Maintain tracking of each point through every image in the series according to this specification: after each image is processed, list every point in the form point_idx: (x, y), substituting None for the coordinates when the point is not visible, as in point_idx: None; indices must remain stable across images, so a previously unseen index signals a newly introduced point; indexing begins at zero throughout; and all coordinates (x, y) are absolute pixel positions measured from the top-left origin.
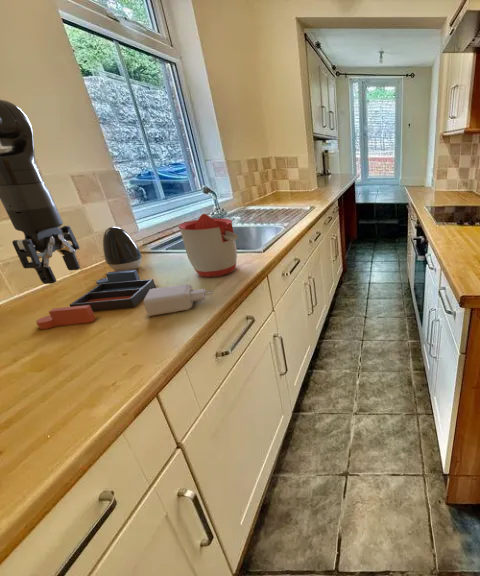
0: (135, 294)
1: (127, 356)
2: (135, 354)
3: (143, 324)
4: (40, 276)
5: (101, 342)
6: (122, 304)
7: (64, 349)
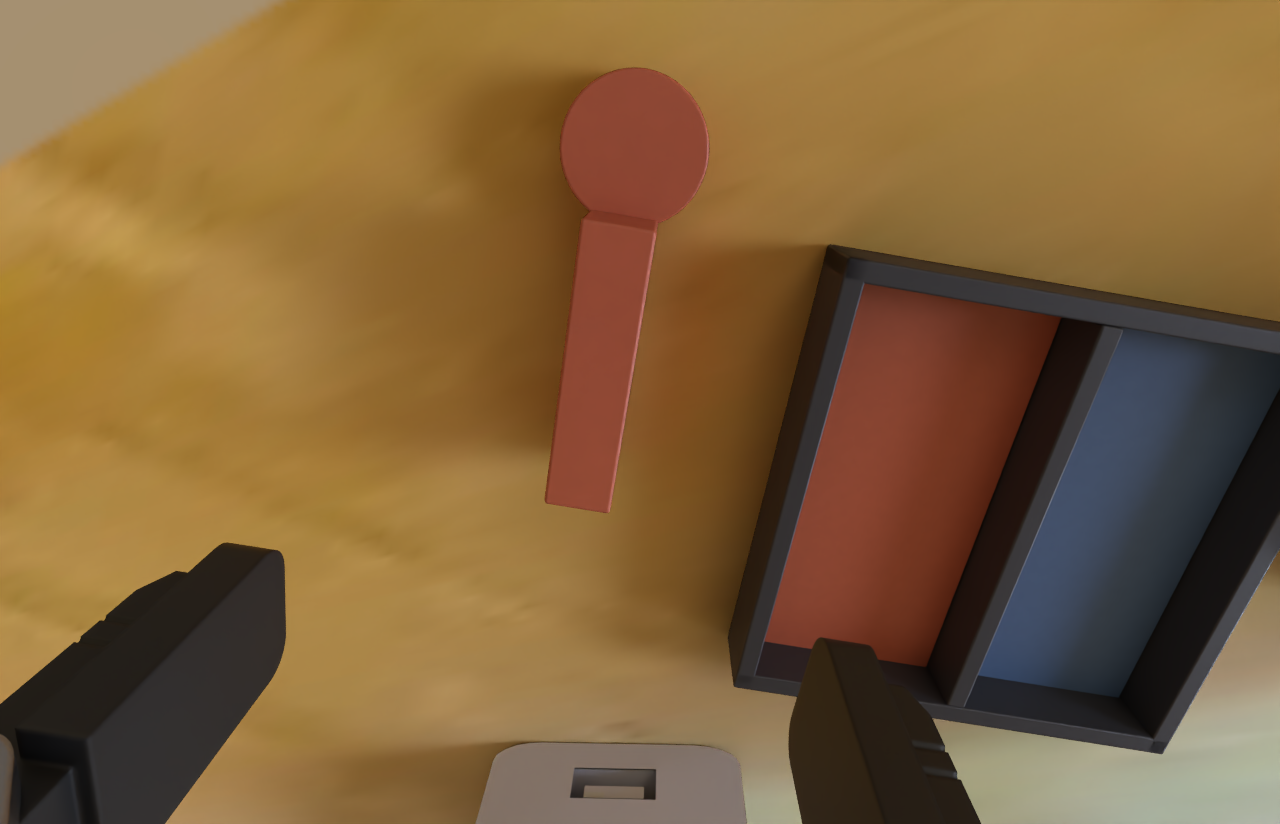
0: None
1: None
2: None
3: (416, 729)
4: (81, 656)
5: None
6: (745, 602)
7: (194, 411)
